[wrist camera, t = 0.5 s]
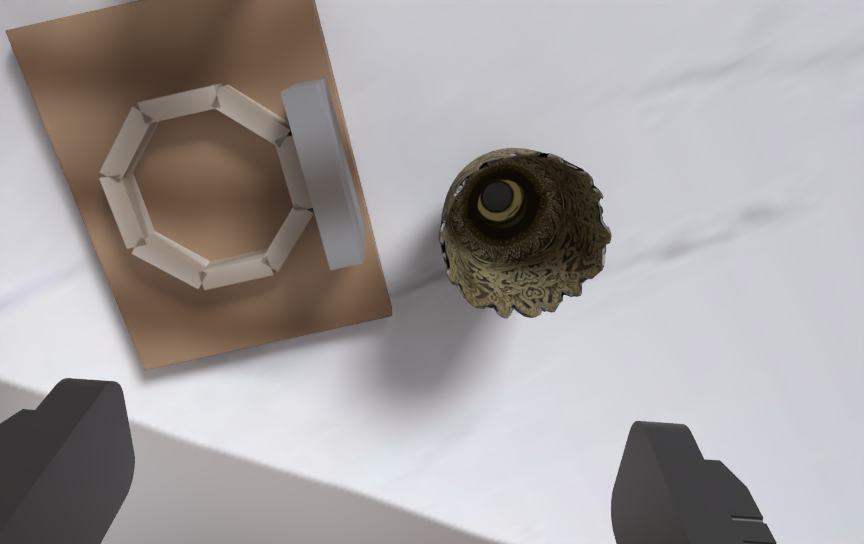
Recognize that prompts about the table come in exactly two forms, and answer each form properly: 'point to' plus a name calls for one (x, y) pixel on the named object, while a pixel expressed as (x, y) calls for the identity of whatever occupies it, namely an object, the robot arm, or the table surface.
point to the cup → (523, 232)
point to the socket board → (209, 170)
